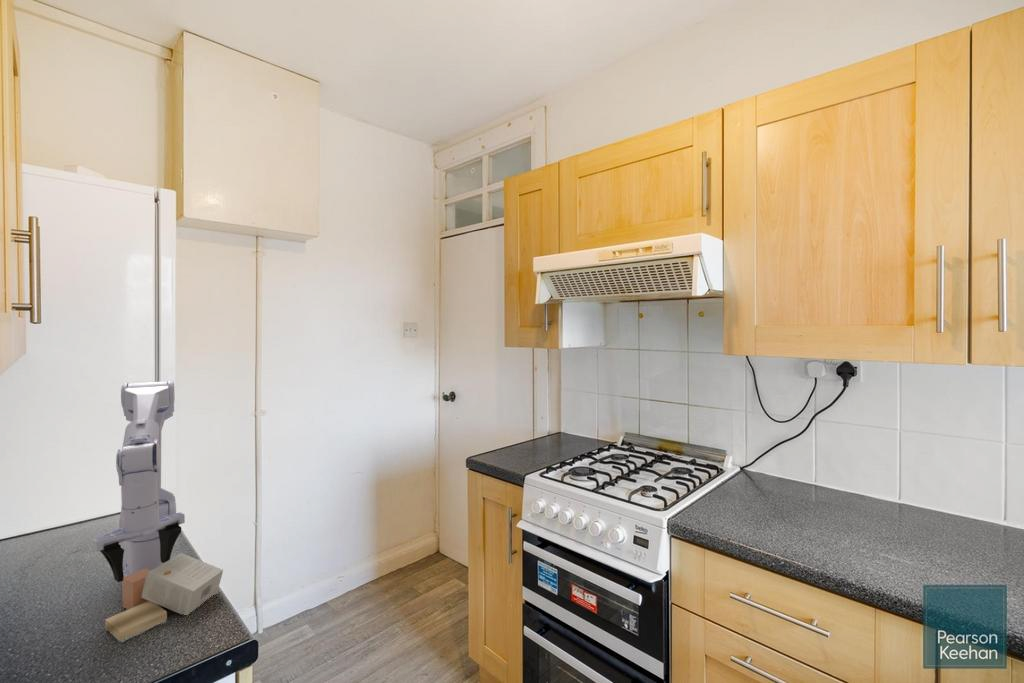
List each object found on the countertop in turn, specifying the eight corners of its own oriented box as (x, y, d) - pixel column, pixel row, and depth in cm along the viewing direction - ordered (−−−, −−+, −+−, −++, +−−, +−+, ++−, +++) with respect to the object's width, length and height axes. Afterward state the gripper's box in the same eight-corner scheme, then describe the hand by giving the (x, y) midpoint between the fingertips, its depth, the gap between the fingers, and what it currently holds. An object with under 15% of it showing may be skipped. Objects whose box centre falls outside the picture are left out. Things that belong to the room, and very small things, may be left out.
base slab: (105, 629, 85) (105, 619, 85) (150, 609, 91) (150, 599, 91) (121, 643, 81) (120, 632, 81) (167, 621, 87) (166, 611, 87)
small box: (218, 593, 97) (175, 575, 98) (224, 569, 96) (181, 551, 97) (185, 618, 89) (139, 598, 90) (192, 591, 88) (145, 572, 89)
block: (122, 607, 92) (121, 578, 91) (145, 597, 95) (144, 568, 95) (133, 612, 90) (132, 582, 90) (156, 601, 94) (155, 572, 93)
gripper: (101, 521, 83) (104, 595, 84) (190, 496, 96) (192, 560, 96) (87, 513, 87) (89, 584, 88) (174, 490, 100) (176, 551, 100)
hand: (142, 571), depth 92 cm, fingers open, 7 cm apart
